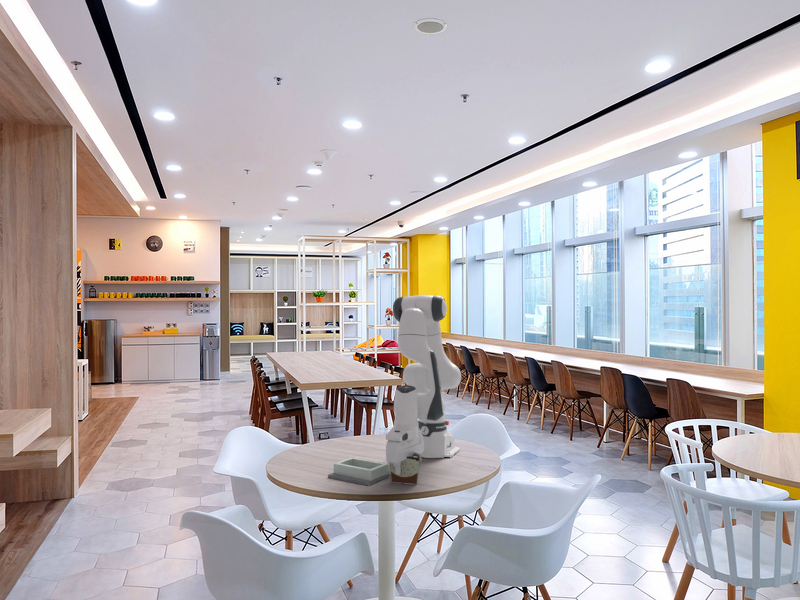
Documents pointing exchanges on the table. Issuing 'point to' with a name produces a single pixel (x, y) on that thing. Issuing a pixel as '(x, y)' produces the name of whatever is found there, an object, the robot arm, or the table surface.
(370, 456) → the table surface
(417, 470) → the food container
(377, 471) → the tray
